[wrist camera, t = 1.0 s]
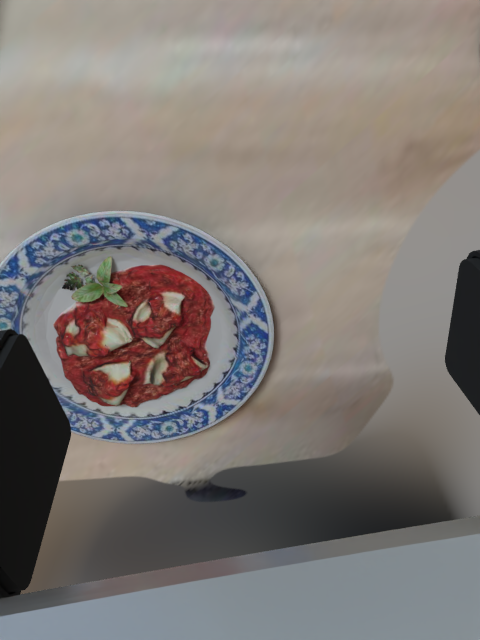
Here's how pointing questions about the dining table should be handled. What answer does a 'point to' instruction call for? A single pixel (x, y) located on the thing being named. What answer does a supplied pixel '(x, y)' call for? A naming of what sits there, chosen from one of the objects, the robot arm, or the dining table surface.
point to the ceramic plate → (138, 323)
